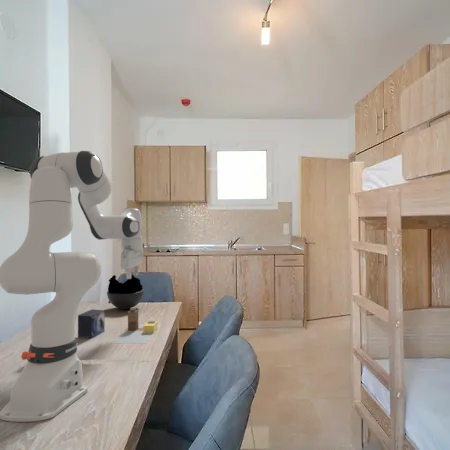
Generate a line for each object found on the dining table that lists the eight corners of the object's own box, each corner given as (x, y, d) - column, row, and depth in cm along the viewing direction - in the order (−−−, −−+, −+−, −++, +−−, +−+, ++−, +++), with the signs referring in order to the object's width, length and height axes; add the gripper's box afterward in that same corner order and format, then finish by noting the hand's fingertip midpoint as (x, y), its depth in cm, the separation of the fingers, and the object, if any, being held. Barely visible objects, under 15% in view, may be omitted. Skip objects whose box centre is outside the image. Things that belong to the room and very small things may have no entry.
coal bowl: (151, 307, 200) (151, 274, 200) (124, 314, 184) (124, 278, 184) (127, 303, 211) (126, 272, 211) (99, 310, 194) (99, 276, 194)
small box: (91, 341, 141) (91, 315, 141) (77, 341, 143) (76, 315, 143) (105, 333, 152) (105, 309, 152) (91, 333, 153) (91, 309, 153)
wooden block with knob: (136, 330, 152) (135, 308, 152) (128, 330, 152) (127, 308, 152) (138, 328, 155) (138, 306, 155) (130, 328, 155) (130, 306, 155)
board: (146, 346, 135) (146, 343, 135) (110, 346, 136) (110, 343, 136) (161, 326, 161) (161, 324, 161) (131, 326, 162) (131, 324, 162)
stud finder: (154, 332, 148) (153, 325, 148) (143, 332, 148) (143, 325, 148) (157, 328, 155) (157, 320, 155) (147, 328, 155) (147, 320, 155)
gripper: (131, 246, 143) (132, 280, 143) (145, 244, 163) (145, 273, 163) (116, 246, 143) (116, 280, 143) (132, 244, 164) (132, 273, 164)
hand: (132, 277), depth 153 cm, fingers open, 8 cm apart
